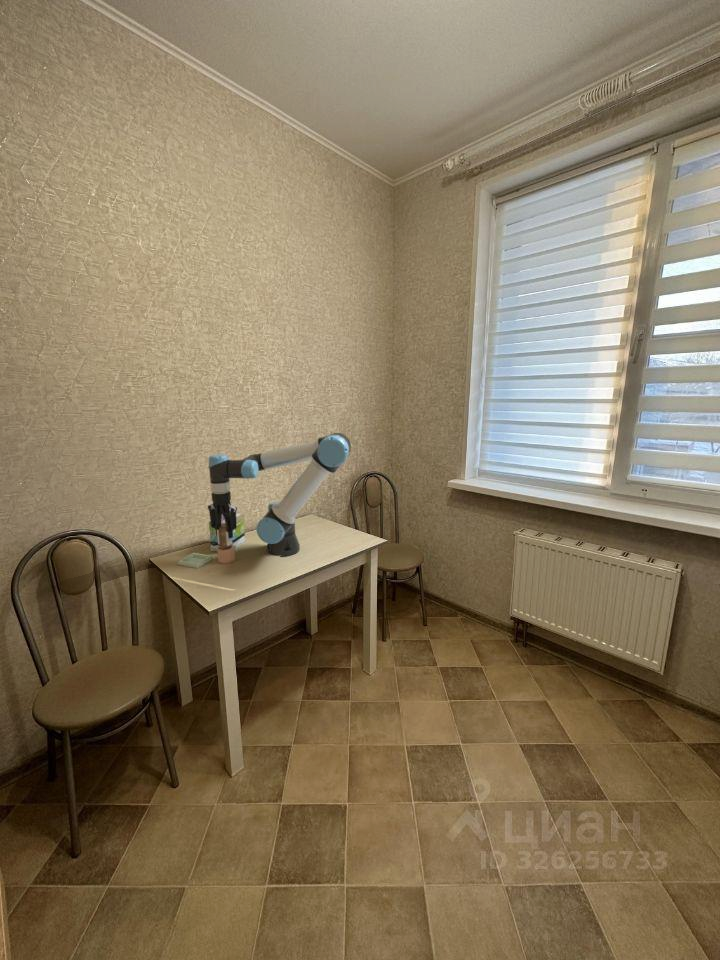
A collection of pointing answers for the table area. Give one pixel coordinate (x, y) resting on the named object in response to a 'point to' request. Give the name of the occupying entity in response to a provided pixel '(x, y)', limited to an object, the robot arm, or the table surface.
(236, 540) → the tea box
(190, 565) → the tray
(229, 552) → the cup
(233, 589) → the table surface
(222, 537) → the dowel
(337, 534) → the table surface
